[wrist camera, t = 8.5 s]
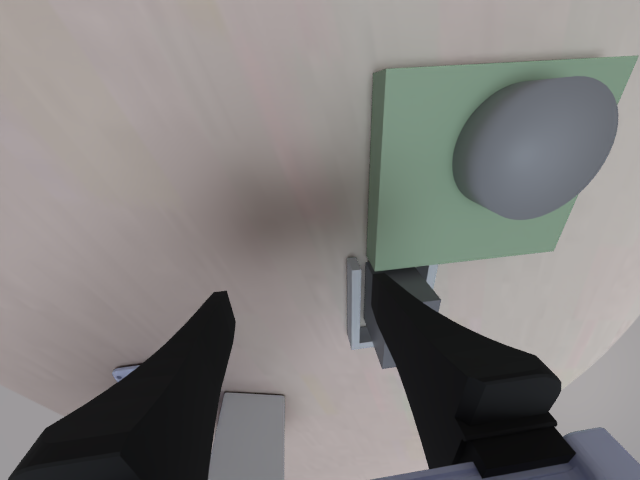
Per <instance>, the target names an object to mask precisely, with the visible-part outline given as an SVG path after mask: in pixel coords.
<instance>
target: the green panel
mask: <svg viewBox="0 0 640 480" xmlns="http://www.w3.org/2000/svg"><path fill="white" fill-rule="evenodd" d="M637 59H638V56H621V57H602V58H583V59H564V60H545V61H526V62H507V63H488V64H469V65H450V66H431V67H412V68H393V69H384V70H382V71H379V72H376V73H373V91H372V118H371V146H370V173H369V200H368V228H367V255H366V256H367V258H368V260H369V262H370V263H371V265H372V267H373V269H374V271H383V270H392V269H401V268H410V267H417V270H418V272H419V273H420V274H421V275H422V277H423V278H424V279H425V280H426V282H427V283H428V284H429V285H430V287H431V288H432V289H433V288H434V283H435V278H436V272H437V267H438V264H445V263H453V262H462V261H471V260H480V259H488V258H497V257H506V256H515V255H523V254H532V253H541V252H550V251H554V249H555V247H556V244H557V242H558V240H559V237H560V235H561V233H562V230H563V228H564V226H565V224H566V221H567V219H568V217H569V214H570V212H571V210H572V208H573V205H574V203H575V201H576V198H577V196H578V194H579V193H580V192H581V191H582V190H583V189H584V188H585V187H586V186H587V185H588V184H589V183H590V181H591V180H592V179H593V178H594V177H595V175H596V174H597V173H598V171H599V170H600V168H601V167H602V165H603V164H604V162H605V160H606V158H607V156H608V154H609V152H610V150H611V148H612V145H613V143H614V139H615V136H616V132H617V126H618V107H617V104H618V102H619V100H620V98H621V95H622V93H623V91H624V88H625V86H626V84H627V82H628V79H629V77H630V75H631V72H632V70H633V68H634V66H635V63H636V61H637ZM360 302H361V268H360V265H359V263H358V261H357V259H356V257H351V258H347V335H348V338H349V342H350V346H351V350H354V349H361V348H369V347H374V345H373V342H372V339H371V337H370V334H369V331H368V328H367V327H360Z"/></svg>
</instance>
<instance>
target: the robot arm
mask: <svg viewBox="0 0 640 480" xmlns="http://www.w3.org/2000/svg"><path fill="white" fill-rule="evenodd" d="M371 307H372V310H373V313H374V317H375V320H376V323H377V325H378V327H379V330H380V332H381V334H382V336H383V338H384V341H385V343H386V345H387V347H388V349H389V351H390V354H391V356H392V358H393V360H394V362H395V365H396V367H397V369H398V372H399V375H400V377H401V380H402V383H403V386H404V389H405V392H406V395H407V398H408V401H409V404H410V407H411V410H412V413H413V416H414V420H415V423H416V426H417V429H418V432H419V436H420V439H421V442H422V446H423V449H424V453H425V456H426V460H427V463H428V467H429V469H428V470H422V471H417V472H411V473H406V474H400V475H394V476H389V477H383V478H377V479H372V480H640V464H639V463H638V462H637V461H636V460H635V459H634V458H633V457H632V456H631V455H630V454H629V453H628V452H627V451H626V450H625V449H624V448H623V447H622V446H621V445H620V444H619V443H618V442H617V441H616V440H615V439H614V438H613V437H612V436H611V435H610V434H609V433H608V432H607V431H606V429H604V428H601V427H599V428H593V429H587V430H581V431H575V432H572V433H569V434H567V435H565V436H564V437H562V436H561V434H560V433H559V432H558V431H557V430H556V429H555V426H557V421H556V420H555V419H554V418H553V417H552V415H551V414H550V413H549V412H548V411H549V410H550V408H551V407H552V405H553V404H554V402H555V401H556V399H557V397H558V396H559V394H560V392H561V381H560V380H559V378H558V377H557V376H556V375H555V374H554V373H553V372H552V371H551V370H550V369H549V368H548V367H547V366H546V365H545V364H544V363H543V362H542V361H541V360H540V359H539V358H538V357H537V356H535V355H532V354H530V353H527V352H524V351H521V350H518V349H515V348H512V347H509V346H507V345H504V344H501V343H499V342H497V341H494V340H492V339H489V338H487V337H485V336H482V335H480V334H478V333H476V332H473V331H471V330H469V329H467V328H465V327H463V326H461V325H459V324H457V323H455V322H454V321H452V320H450V319H448V318H447V317H445V316H443V315H441V314H440V313H438V312H436V311H435V310H433V309H432V308H430V307H429V306H427V305H426V304H424V303H423V302H421V301H420V300H419V299H417V298H416V297H414V296H413V295H412V294H410V293H409V292H408V291H407V290H405V289H404V288H403V287H401V286H400V285H399V284H398V283H397V282H395V281H394V280H393V279H392V278H390V277H389V276H388V275H387V274H385V273H377V274H373V276H372V295H371ZM235 323H236V322H235V318H234V315H233V311H232V308H231V304H230V301H229V297H228V294H227V291H221V292H214V293H213V294H212V295H211V296H210V297H209V298H208V299H207V300H206V302H205V303H204V304H203V305H202V306H201V307H200V308H199V309H198V311H197V312H196V313H195V314H194V315H193V316H192V317H191V318H190V319H189V320H188V322H187V323H186V324H185V325H184V326H183V327H182V328H181V329H180V330H179V331H178V332H177V333H176V334H175V335H174V336H173V337H172V338H171V339H170V340H169V341H168V342H167V343H166V344H165V345H163V346H162V347H161V348H160V349H159V350H158V351H157V352H156V353H154V354H153V355H152V356H151V357H150V358H149V359H147V360H146V361H145V362H144V363H142V364H141V365H137V366H130V367H122V368H116V369H114V371H113V372H112V375H113V376H114V378H115V379H116V381H117V382H118V383H116V384H115V385H113V386H112V387H110V388H109V389H108V390H106V391H105V392H103V393H102V394H100V395H99V396H97V397H96V398H94V399H93V400H91V401H90V402H88V403H86V404H85V405H83V406H82V407H80V408H78V409H77V410H75V411H74V412H72V413H70V414H69V415H67V416H65V417H64V418H62V419H60V420H59V421H57V422H56V423H54V424H52V425H50V426H49V427H47V428H46V429H45V430H44V431H43V432H42V434H41V435H40V436H39V438H38V439H37V440H36V442H35V443H34V444H33V446H32V447H31V449H30V450H29V451H28V453H27V454H26V455H25V456H24V458H23V459H22V460H21V462H20V463H19V465H18V466H17V467H16V469H15V470H14V471H13V473H12V474H11V475H10V477H9V479H8V480H208V474H209V466H210V458H211V449H212V442H213V435H214V427H215V420H216V414H217V408H218V402H219V396H220V392H221V387H222V383H223V379H224V376H225V372H226V368H227V364H228V360H229V356H230V353H231V349H232V345H233V339H234V332H235Z"/></svg>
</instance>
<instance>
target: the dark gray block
mask: <svg viewBox="0 0 640 480" xmlns="http://www.w3.org/2000/svg"><path fill="white" fill-rule="evenodd" d="M377 273H385V274H387V275H388V276H389V277H390V278H392V279H393V280H394V281H395V282H397V283H398V284H399V285H400V286H401V287H403V288H404V289H405V290H407V291H408V292H409V293H410V294H412V295H413V296H414V297H416V298H417V299H419V300H420V301H421V302H423V303H424V304H426V305H427V306H429V307H430V308H432V309H433V310H435V311H436V312H438V311H439V306H440V302H441V299H440V298H439V297H438V296H437V294H436V293H435V292H434V291H433V289H432V288H431V287H430V285H429V284H428V283H427V282H426V280H425V279H424V278H423V277H422V275H421V274H420V273H419V272H418V270H417V269H416V268H415V267H410V268H401V269H392V270H383V271H374V269H373V267H372V265H371V263H370V262H366V266H365V295H364V320H365V323H366V326H367V328H368V331H369V334H370V337H371V339H372V342H373V345H374V348H375V350H376V353H377V356H378V359H379V361H380V364H381V367H382V369H385V368H392V367H396V365H395V362H394V360H393V358H392V356H391V354H390V351H389V349H388V347H387V345H386V343H385V341H384V338H383V336H382V334H381V332H380V330H379V327H378V325H377V323H376V320H375V317H374V313H373V310H372V307H371V295H372V276H373V274H377Z"/></svg>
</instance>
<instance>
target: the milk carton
mask: <svg viewBox="0 0 640 480" xmlns="http://www.w3.org/2000/svg"><path fill="white" fill-rule="evenodd" d="M284 421H285V397H284V396H281V395H263V394H245V393H225V394H224V397H223V402H222V407H221V411H220V416H219V420H218V425H217V430H216V434H215V439H214V444H213V448H212V453H211V458H210V466H209V474H208V480H284Z"/></svg>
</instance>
